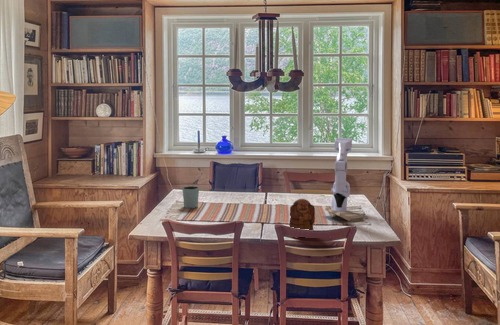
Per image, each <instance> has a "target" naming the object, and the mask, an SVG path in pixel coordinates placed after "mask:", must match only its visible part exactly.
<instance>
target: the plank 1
mask: <svg viewBox="0 0 500 325" xmlns="http://www.w3.org/2000/svg"><path fill="white" fill-rule="evenodd" d="M324 208H325V209H324V210H325V211H327V212H329V213H331V214H332V215H335V214H333V213H332V211H333V209H331V208H330V207H328V206H325V207H324ZM336 216H337V215H336ZM338 217H339V216H338Z"/></svg>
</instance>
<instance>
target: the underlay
mask: <svg viewBox="0 0 500 325" xmlns="http://www.w3.org/2000/svg"><path fill="white" fill-rule="evenodd" d="M321 218H325V219H327V220H328V221H331V222H333V223H334V224H346V223H353V222H354V223H355V222H357V221H348V220H345V219H343V218H341V217H338V216H336V215H334V214H332V215H321ZM363 221H364V222H365V219H363V220H362V221H361V222H363Z"/></svg>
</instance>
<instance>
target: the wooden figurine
mask: <svg viewBox="0 0 500 325" xmlns="http://www.w3.org/2000/svg"><path fill="white" fill-rule="evenodd" d="M315 214H316V211H315V205H313V204H311V202H310V201H309V200H307V199H305V198H299V199H297V200H295V201H294V202H293V203H292V205H291V206H290V207H289V217H290V218H289V226H290V227H294V228H300V229H309V230H313V231H314V224H315V221H316V217H315V216H316V215H315ZM289 226H288V227H289ZM290 227H289V228H290Z"/></svg>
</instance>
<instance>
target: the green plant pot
mask: <svg viewBox="0 0 500 325" xmlns="http://www.w3.org/2000/svg"><path fill="white" fill-rule="evenodd" d="M181 190H182V197H183V198H182V199H183V207H184V208H186V209H196V208H198V207H199V194H200V192H199V191H200V187H199V186H197V185H188V186H187V185H186V186H183V187H182V188H181ZM195 207H196V208H195Z"/></svg>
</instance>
